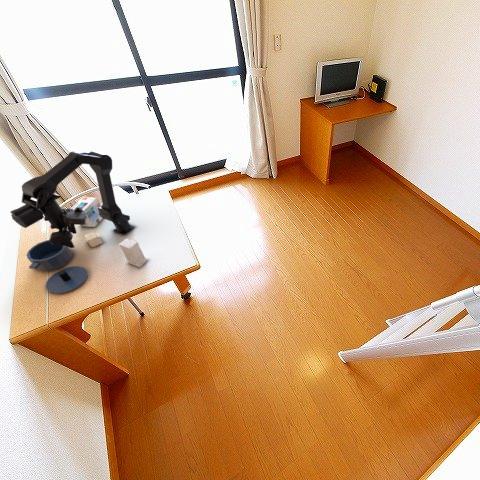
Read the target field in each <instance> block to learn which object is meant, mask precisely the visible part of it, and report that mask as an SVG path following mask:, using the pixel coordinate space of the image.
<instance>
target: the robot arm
mask: <svg viewBox="0 0 480 480" xmlns="http://www.w3.org/2000/svg"><path fill="white" fill-rule="evenodd" d="M82 165H88V166H89V167H90V168H91V170H92V171H93V172H94V174H95V177H96V181H97V186H98V189H99V193H100V194H99V195H100V198H101V203H102V204H101V207H99V208H98V210H99V215H100V216H101V217H102V218H103V219H102V220H106V221H109V222H111V223H112V224H113V226H114V227H115V228H114V229H113V232H115V233H118V234H120V235H123V236H125V235H126V234H128V233H129V232H131V230H133V229H134V228H135V226H134V225H131V224H130V222H129V221H131V216H130V215H129V214H126V213H123V211H122V209H121V208H120V206H119V205H118V204H117V202H116V197H115V192H114V188H113V182H112V178H111V172H112V170H113V159H112V157H111V156H110V155H108V154H106V153H102V152H100V151H96V150H92V151H90V152H87V151H70V152H69V153H68V154H67V155H66V157H64V158H62V160H60V161H59V162H58V163H56V164H55V165H54V166H53V167H52V168H50V169H49V170H48V171H46V172H45V173H43V174H42V175H39V176H35V177H33V178H30V179H29V180H27V181H25V182H24V183H23V184H22V185H21V192H22V193H21V195H22V196H21V203H22V204H24V205H22V206H20V207H18V208H15V209H12V210H11V211H10V214H11V219H12V220H13V221H14V222H15V223H16V224H17V225H19V226H21V227H22V228H25V229H27V228H29V227H30V226H32V225H34V224H36V223H38V222H40V221H41V220H44V221H45V222H48V223H49V224H50V229H51V230H53V229H54V230H55V229H56V230H58V231H53V232H51V233H50V235H49V239H48V240H49V241H50V242H51V244H53V245H54V244H62V245H64V246H67V247H69V248H70V249H74V248H75V244H74V243H73V237H74V235H75V234H77V229H76V226H77V225H78V226H79V225H80V226H81V225H85V224H86V213H85V211H83V210H82V209H81V208H80V207H76V208H75V209H74V210H73V209H71V208H62V207H61V205H60V204H59V203H58V202H57V200H58V199H60V198H61V197H62V196H61V195H60V194H57V193H56V191H57V190H58V189H57V188H58V186H59V185H60V183H62V182H63V181H64V180H65V179H66V178H68V176H70V175H71V174H72V173H73V172H75V171H76V170H77V169H79V168H80V167H81V166H82ZM34 199H35V200H34ZM75 225H76V226H75Z"/></svg>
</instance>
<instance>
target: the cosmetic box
mask: <svg viewBox="0 0 480 480" xmlns="http://www.w3.org/2000/svg"><path fill="white" fill-rule="evenodd" d="M118 246H119V248H120V250H121V251H122V253H123V255H124V257H125V258H126V260H127V262H128V264H130V265H133V266H136V267H138V268H141V267H142V266H143V265H144V264H146V263H147V258H146V257H145V254H144V253H143V251H142V249H141V247H140V245H139V243H138V242H137V241H135V240H132V239H129V238H125V239H124V240H123V241H121V242H120V243H119V244H118Z"/></svg>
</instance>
